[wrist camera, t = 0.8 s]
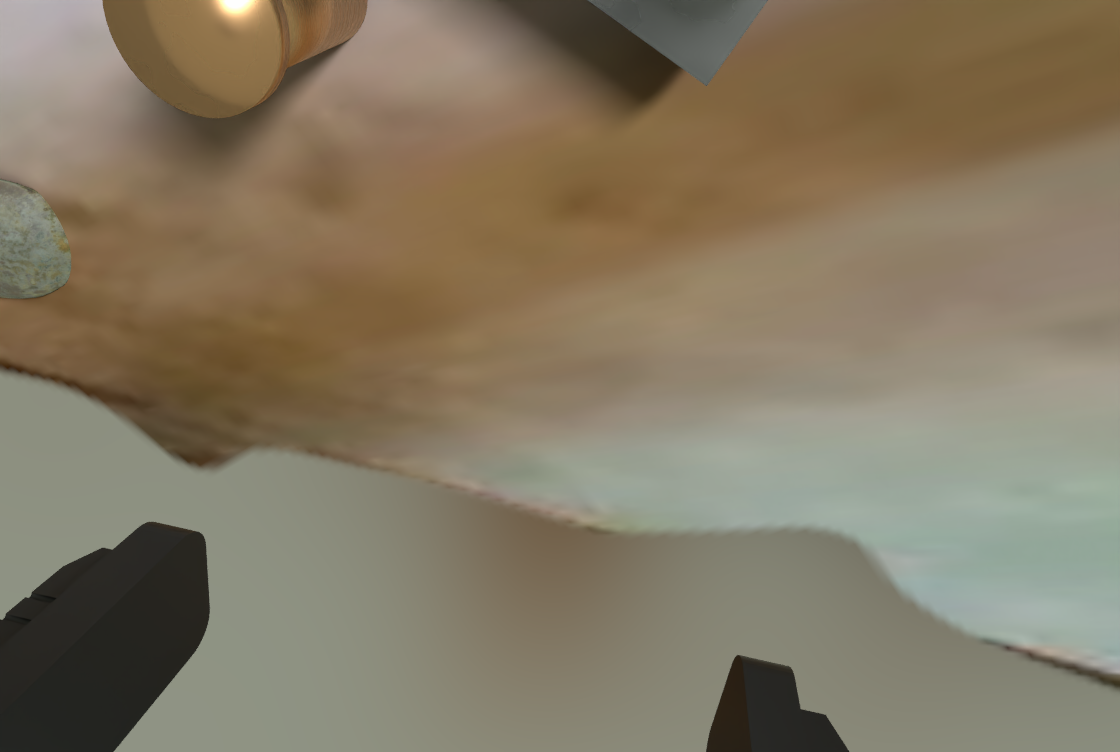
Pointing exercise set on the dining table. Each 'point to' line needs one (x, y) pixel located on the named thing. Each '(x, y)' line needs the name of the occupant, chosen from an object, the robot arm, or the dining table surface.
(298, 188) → the dining table surface
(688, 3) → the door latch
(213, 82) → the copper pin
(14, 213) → the soupspoon
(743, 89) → the dining table surface
